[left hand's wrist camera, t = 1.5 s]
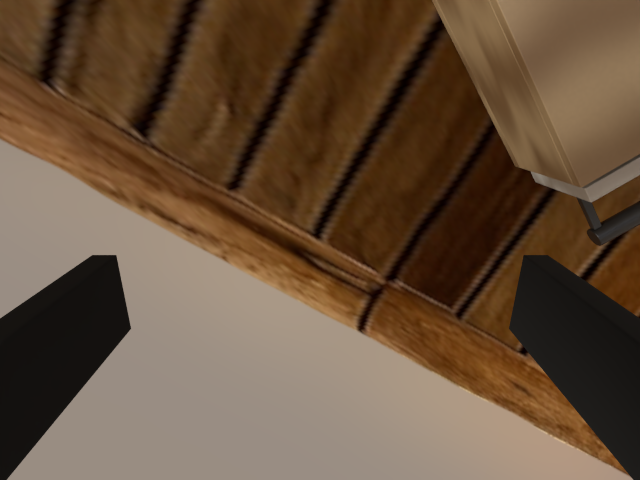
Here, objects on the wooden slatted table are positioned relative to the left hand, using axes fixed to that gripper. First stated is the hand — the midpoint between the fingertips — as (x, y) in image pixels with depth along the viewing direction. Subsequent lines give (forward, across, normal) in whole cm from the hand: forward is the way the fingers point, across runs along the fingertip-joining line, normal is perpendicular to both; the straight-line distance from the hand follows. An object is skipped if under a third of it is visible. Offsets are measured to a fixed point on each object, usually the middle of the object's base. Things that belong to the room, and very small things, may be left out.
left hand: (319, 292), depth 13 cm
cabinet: (+23, +17, +10) cm, 30 cm away
